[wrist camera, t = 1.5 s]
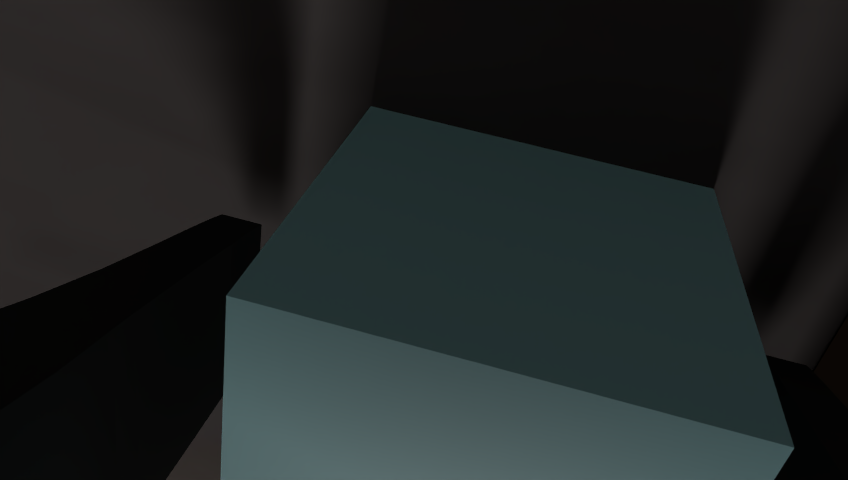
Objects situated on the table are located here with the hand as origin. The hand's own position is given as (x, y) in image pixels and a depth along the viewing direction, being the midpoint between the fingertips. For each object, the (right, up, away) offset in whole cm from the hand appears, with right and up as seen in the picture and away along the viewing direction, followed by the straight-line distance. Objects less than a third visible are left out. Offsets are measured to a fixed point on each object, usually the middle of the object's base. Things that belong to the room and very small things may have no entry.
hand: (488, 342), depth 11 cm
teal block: (0, +1, +1) cm, 2 cm away
